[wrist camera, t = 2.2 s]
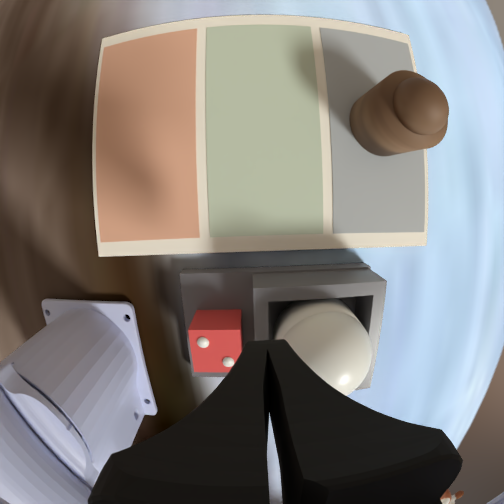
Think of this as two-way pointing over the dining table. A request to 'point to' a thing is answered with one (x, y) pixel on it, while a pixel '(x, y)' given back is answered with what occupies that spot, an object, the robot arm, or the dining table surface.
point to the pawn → (400, 115)
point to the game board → (248, 139)
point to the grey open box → (268, 306)
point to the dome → (327, 340)
